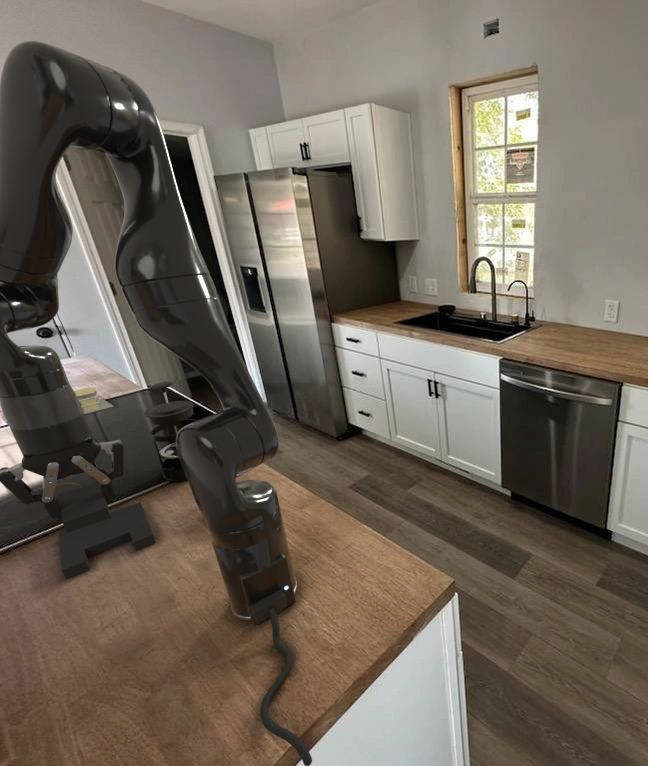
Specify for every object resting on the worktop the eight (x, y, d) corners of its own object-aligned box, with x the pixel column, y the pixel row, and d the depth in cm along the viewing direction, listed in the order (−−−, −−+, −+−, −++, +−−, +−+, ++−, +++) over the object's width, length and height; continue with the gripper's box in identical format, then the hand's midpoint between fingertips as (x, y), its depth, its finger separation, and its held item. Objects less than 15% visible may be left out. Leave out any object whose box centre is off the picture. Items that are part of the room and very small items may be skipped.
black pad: (63, 503, 69) (58, 494, 68) (103, 491, 73) (100, 481, 72) (67, 533, 63) (62, 522, 62) (111, 517, 66) (107, 507, 66)
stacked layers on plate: (114, 406, 133) (108, 390, 131) (76, 416, 126) (69, 399, 124) (103, 399, 138) (97, 384, 136) (66, 408, 131) (59, 392, 129)
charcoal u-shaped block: (156, 542, 78) (152, 534, 77) (66, 579, 70) (61, 570, 69) (143, 509, 87) (140, 501, 86) (62, 538, 79) (58, 530, 78)
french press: (157, 471, 100) (128, 383, 91) (202, 455, 107) (179, 372, 98) (173, 490, 93) (143, 397, 85) (220, 472, 100) (196, 384, 92)
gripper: (-32, 441, 54) (20, 543, 60) (114, 409, 64) (146, 499, 70) (-28, 423, 59) (21, 519, 65) (108, 396, 69) (139, 481, 75)
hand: (86, 508), depth 68 cm, fingers closed on black pad, 5 cm apart
